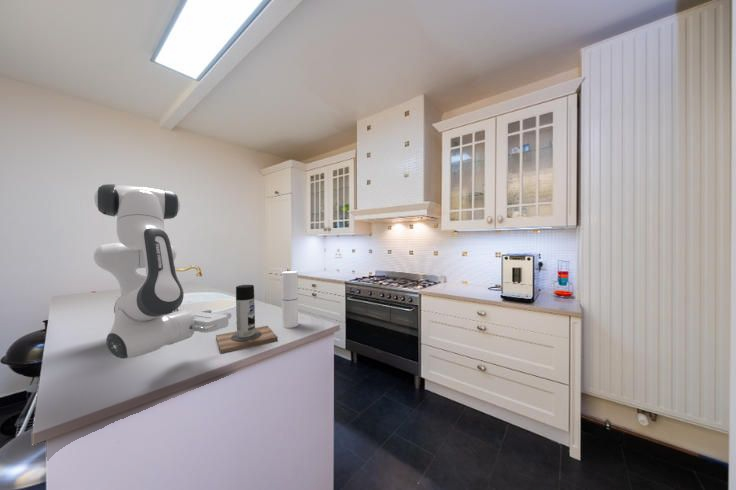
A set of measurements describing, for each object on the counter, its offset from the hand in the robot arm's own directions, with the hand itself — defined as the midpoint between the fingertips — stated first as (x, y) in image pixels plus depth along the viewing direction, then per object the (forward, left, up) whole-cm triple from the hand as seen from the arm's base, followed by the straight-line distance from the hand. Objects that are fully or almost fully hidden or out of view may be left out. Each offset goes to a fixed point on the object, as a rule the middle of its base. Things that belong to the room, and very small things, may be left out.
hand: (219, 313), depth 92 cm
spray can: (-7, +10, -12) cm, 17 cm away
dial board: (-7, +10, -14) cm, 19 cm away
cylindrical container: (-14, +30, -14) cm, 36 cm away
